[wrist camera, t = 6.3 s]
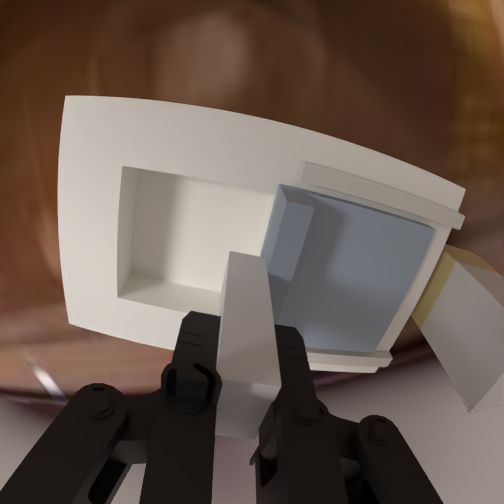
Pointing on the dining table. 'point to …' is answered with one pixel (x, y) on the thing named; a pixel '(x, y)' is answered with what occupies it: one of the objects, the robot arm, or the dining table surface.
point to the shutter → (339, 267)
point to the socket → (208, 211)
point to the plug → (466, 325)
